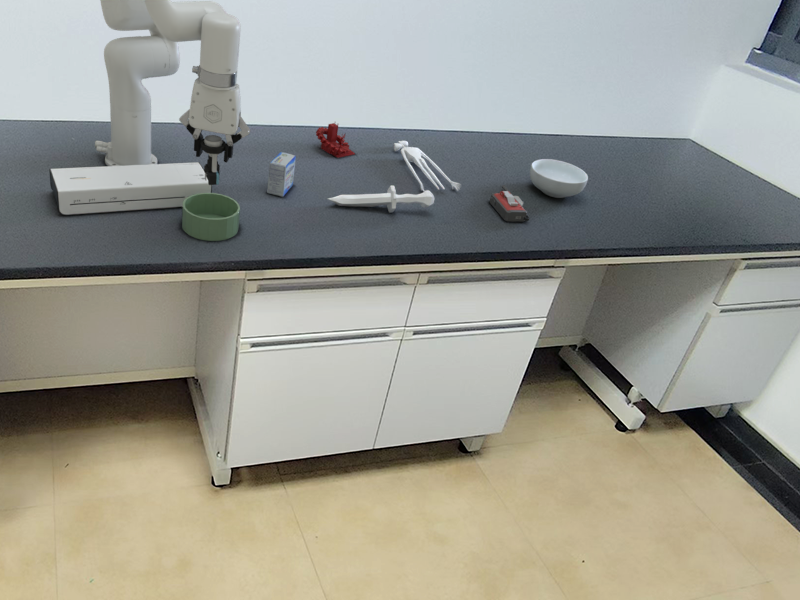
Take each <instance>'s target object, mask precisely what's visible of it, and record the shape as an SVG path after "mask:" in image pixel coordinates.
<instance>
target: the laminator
mask: <svg viewBox="0 0 800 600" xmlns="http://www.w3.org/2000/svg"><path fill="white" fill-rule="evenodd" d="M48 171H49V183H50V189H51V191H52V193H53V196H54V199H55V202H56V205H57V210H58V212H59V214H60V215H62V216H78V215H79V216H80V215H95V214H107V213H121V212H136V211H137V212H138V211H148V210H149V211H150V210H152V211H153V210H163V209H178V208H182V203H183V201H184V199H186V198H187V197H189V196H191V195H194V194H198V193H213V185H209V184H208V179H207V177H205V172H204V166H203V165H202V164H201V163H200V162H176V163H173V162H172V163H157V164H150V165H127V166H107V165H106V166H86V167H85V166H84V167H82V166H81V167H63V168H49V170H48ZM205 178H206V180H205Z"/></svg>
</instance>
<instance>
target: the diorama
mask: <svg viewBox="0 0 800 600" xmlns="http://www.w3.org/2000/svg"><path fill="white" fill-rule="evenodd" d="M338 131H339V123H335V122H333V123H328V124H327V127H323V126H321V127H318V128H317V130H316V131H315V136H316V137H317V139H318V140H319V142H320V144H321V145H320V149H321V150H322V151H324V152H326V153H328V154H329V155H332V156H334V157H335V158H337V159H339V158H344V157H349V156H353V155H354V156H355V155H356V154H355V152H354V151H352V150H351V149H350V144H349V143H348V142H345V141H346V140H345V138H346V133H341V135H339V134H338ZM325 135H326V136H325Z"/></svg>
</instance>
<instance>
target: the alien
mask: <svg viewBox="0 0 800 600" xmlns="http://www.w3.org/2000/svg"><path fill="white" fill-rule="evenodd" d="M393 151H394V152H398V151H400V153H401V155H402V157H403V160H404V162H405V163H406V165H407V167H408V169H409V170H410V171H411V173H412V174H413V176H414V178H415V179H416V180H417V182H418V184H419V185H420V186H419V187H420V188H419V189H420V191H421V192H422V191H423V192H424V191H425V187H424V184H423V182H422V181H421V179H420V177H419V176H418V174H417V173H416V171H415V169H414V168H413V165H411V163H413V164H414V165H416V167H418V168H419V169H420V170H421V172H422V173H423V174H424V176H425V177H426V178H427V179H428V180H429V181H430V182H431V183H432V184H433V186H434V187H435V188H436V189H437V190H439V191H440V188H442V190H443V191H444V190H445V189H446V188H445V187H444V185H443V183H441V181H440V179H439V178H438V177H437V176H436V174H435V173H434V171H432V169H431V168H430V167H429V166H428V163H427V162H426V160H427V161H428V162H429V163H430V164H431V166H433V168H434V169H435V170H436V171H437V172H438V173H439V174H441V175H442V177H443V178H444V179H445V180H447V182H449V184H450V185H451V187H452V190H454V188H455V190H456V191H459V189H460V188H462V184H461V183H459V182H455V181H452V180H451V179H450V178H449V176H447V175H446V173H444V171H443V170H442V169H441V168H440V167H439V166H438V165H437V163H435V161H433V160H432V159H431V158H430V157H429V156H428V155H427V154H425V152H424V151H422V150H421V149H420V148H419V147H413V146H409V142H408V141H407V140H398V141H397V142H395V143H393ZM425 159H426V160H425ZM437 184H438V185H439V186H438V185H437Z"/></svg>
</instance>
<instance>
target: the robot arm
mask: <svg viewBox="0 0 800 600" xmlns="http://www.w3.org/2000/svg"><path fill="white" fill-rule="evenodd" d="M99 1H100V5H101V10H102V16H103V19H104V21H105V23H106V25H107V27H108V28H110V29H111V30H114V31H120V32H132V31H149V34H150V35H143V36H141V35H138V36H125V37H118V38H117V37H116V38H115V39H112V40H110V41H109V42H108V43H106V45H105V46H104V49H103V60H104V65H105V69H106V74H107V80H108V89H109V90H108V91H109V110H110V111H109V113H110V114H109V115H110V116H109V117H110V118H109V119H110V141H108V142H105V141H103V140H95V141H94V148H95V149H96V152H97V153H103V154H105V156H104V163H105V165H106V166H127V165H150V164H158V158H157V156H156V155H155V154H153V153H152V96H151V94H150V92H149V90H148V89H147V87H146V86H144V84H143V80H146V79H152V78H161V77H168V76H169V77H170V76H173V75H174V74H176V73H177V72H178V70H179V69H180V64H181V56H180V54H181V53H180V47H179V43H185V42H192V41H193V42H194V41H200V49H199V50H200V51H199V64H198V65H193V66H192V68H191V72H192V73H194V74H196V75H197V78H196V79H195V80H194V82H193V86H192V89H191V97H190V105H189V109H188V110H186V111H185V112H184V113H183V114H182V115H181V116H180V117H179V118H178V120H179V122H180V123H181V124H182V125H183V127H185V128H186V130H187V131H188V132H189V133H190V135H191V136H192V138H193V151H194V152H195V157H196V158H199V157H201V155H202V153H203V152H204V151H203V150H202V148H201V144H200V142H201V140H202V139H204V135H203V134H202V133H203V131H206V132H210V133H216V134H221V135H224V136H225V140H226V145H225V150H224V151H223V162H224V163H228V162H229V160H230V159H232V158H233V153H234V145H235V144H236V143H237V142H239V141H241V140H242V139H244V138H245V137H247V136H249V135H250V133H251V129H250V127H249V126H248V125H247V123H246V121H245V120H244V119H243V118H242V101H241V97H242V96H241V89H240V84H239V83H238V82H237V81H238V69H239V68H238V67H239V56H240V54H239V53H240V43H241V31H242V29H241V27H242V25H241V21H240V20H239V19H238V18H237V16H234V15H233V14H230V13H228V12H227V11H226V10H225V8H224V7H223V6H222V5H221V4H220V3H218V2H216V1H213V0H199V1H198V0H193V1H192V0H191V1H189V0H188V1H171V0H99ZM238 129H240V131H238Z"/></svg>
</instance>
